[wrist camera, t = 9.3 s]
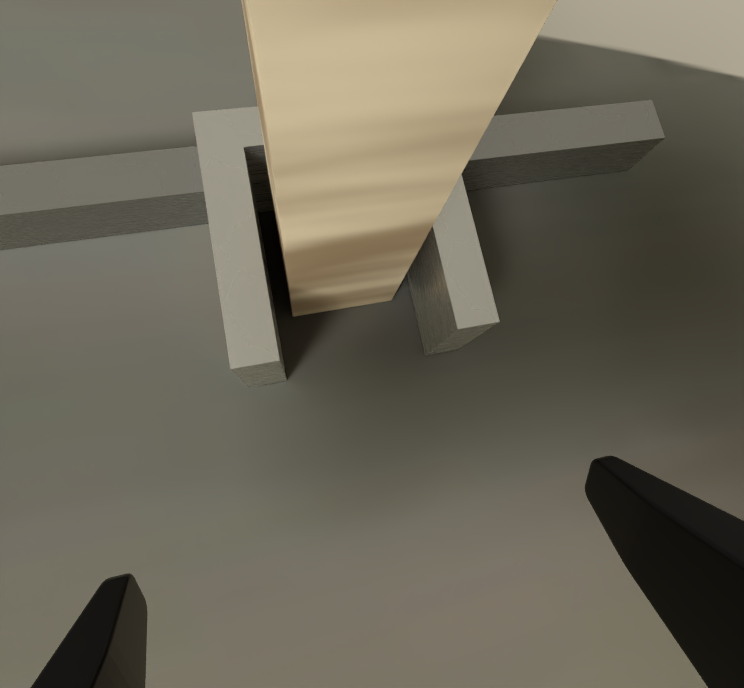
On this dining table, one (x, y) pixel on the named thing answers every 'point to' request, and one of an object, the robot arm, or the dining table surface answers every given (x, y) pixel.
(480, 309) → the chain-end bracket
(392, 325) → the dining table surface
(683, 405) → the dining table surface
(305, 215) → the beech pin
